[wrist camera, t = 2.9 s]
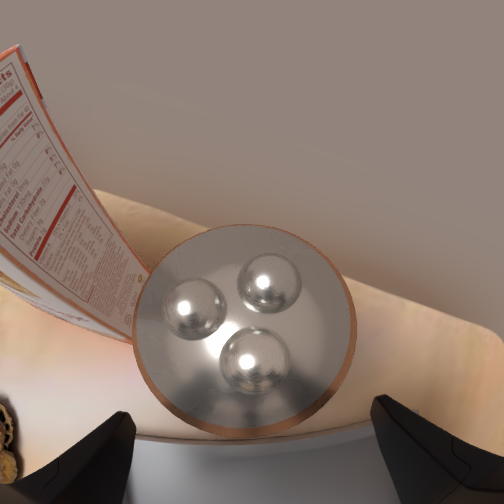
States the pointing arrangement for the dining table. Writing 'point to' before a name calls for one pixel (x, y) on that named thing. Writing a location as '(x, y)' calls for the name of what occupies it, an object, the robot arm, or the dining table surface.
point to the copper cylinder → (244, 330)
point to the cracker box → (57, 219)
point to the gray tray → (262, 470)
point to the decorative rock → (6, 449)
